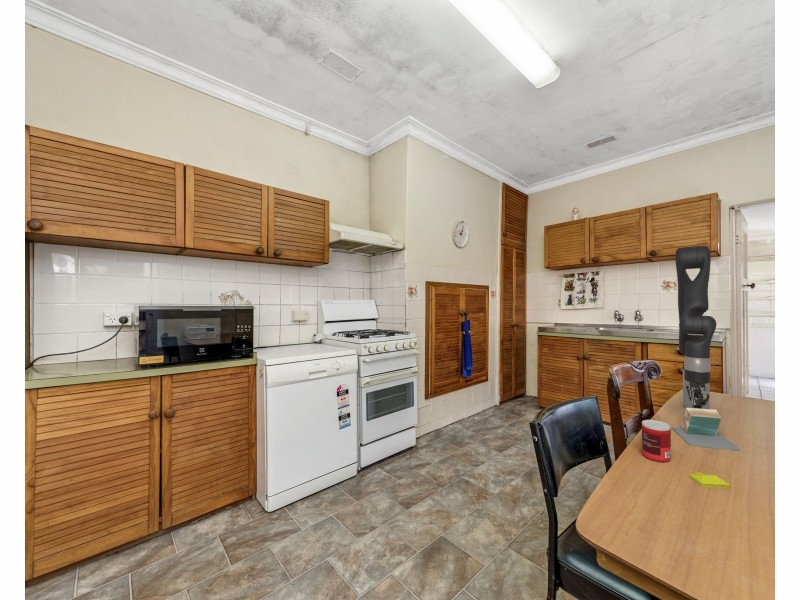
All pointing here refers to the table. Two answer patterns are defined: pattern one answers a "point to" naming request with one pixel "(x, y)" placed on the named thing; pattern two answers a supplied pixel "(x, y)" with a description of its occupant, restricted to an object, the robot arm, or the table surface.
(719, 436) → the mat
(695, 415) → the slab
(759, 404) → the table surface
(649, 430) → the canned food
